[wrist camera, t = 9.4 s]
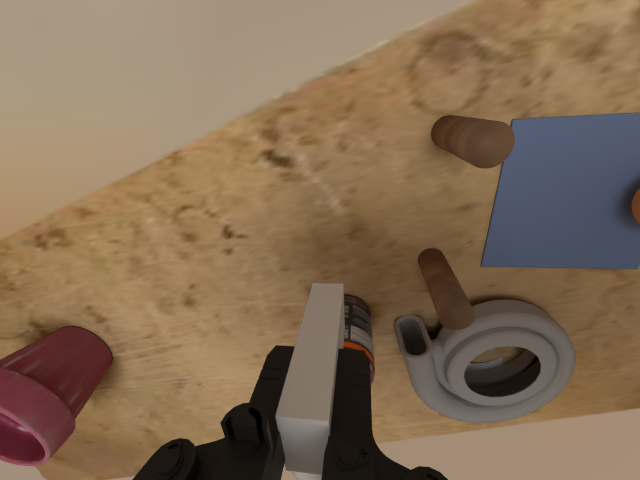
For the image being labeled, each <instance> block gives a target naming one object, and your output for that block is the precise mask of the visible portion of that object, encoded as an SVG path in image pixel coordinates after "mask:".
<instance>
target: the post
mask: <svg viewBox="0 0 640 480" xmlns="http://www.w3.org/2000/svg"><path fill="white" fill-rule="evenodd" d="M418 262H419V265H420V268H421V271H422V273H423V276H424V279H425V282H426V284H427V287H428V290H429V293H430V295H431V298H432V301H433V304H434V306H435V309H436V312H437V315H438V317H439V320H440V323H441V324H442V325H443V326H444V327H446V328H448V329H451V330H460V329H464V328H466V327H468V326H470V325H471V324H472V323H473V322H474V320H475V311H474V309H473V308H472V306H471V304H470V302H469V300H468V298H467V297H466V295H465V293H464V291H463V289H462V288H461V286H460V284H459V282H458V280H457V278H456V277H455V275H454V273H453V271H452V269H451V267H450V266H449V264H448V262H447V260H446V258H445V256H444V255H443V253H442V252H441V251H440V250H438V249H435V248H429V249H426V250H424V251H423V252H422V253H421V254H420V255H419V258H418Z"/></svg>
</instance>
